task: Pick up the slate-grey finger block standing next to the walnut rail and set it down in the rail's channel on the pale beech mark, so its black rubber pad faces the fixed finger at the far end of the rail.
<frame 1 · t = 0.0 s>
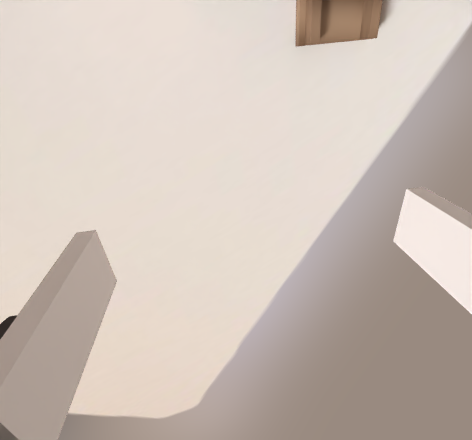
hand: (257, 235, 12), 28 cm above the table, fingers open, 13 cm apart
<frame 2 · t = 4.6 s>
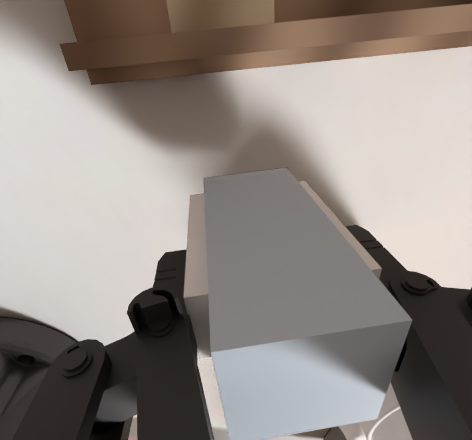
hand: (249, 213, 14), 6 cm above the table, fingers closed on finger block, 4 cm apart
finger block: (248, 209, 14), point 5 cm above the table, touching gripper
mug: (324, 274, 24), on the table
flask: (348, 425, 40), on the table
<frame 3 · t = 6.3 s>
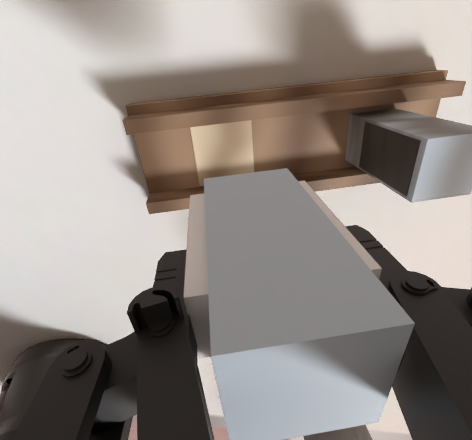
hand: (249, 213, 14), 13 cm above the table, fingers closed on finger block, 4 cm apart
finger block: (248, 210, 14), point 12 cm above the table, touching gripper
flask: (322, 410, 51), on the table
rail: (288, 141, 25), on the table
when the fingers open (2 cm above the table, at t = 8.0 s): finger block stays where it is, resting on rail.
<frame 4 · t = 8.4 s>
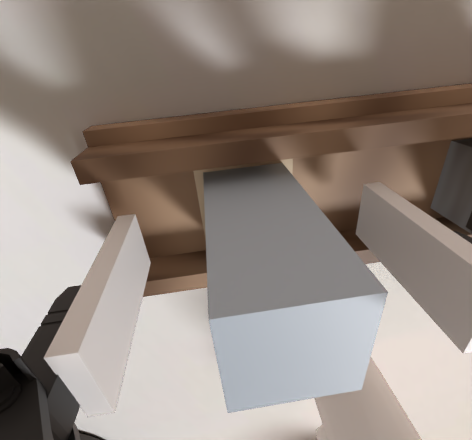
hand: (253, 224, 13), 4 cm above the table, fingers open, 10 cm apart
finger block: (245, 203, 15), point 1 cm above the table, touching rail
mug: (328, 375, 27), on the table
rail: (344, 179, 16), on the table
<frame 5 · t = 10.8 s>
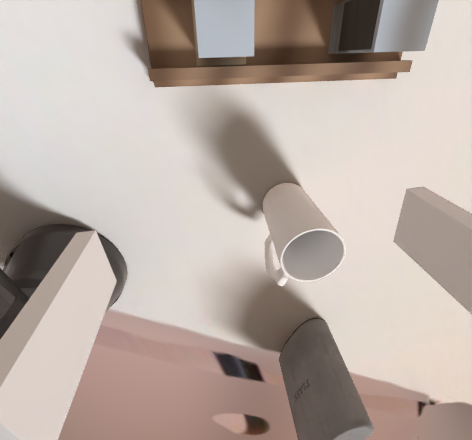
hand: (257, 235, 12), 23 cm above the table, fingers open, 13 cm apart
finger block: (219, 33, 26), point 1 cm above the table, touching rail
mug: (277, 211, 39), on the table
flask: (299, 341, 55), on the table
rail: (278, 32, 28), on the table
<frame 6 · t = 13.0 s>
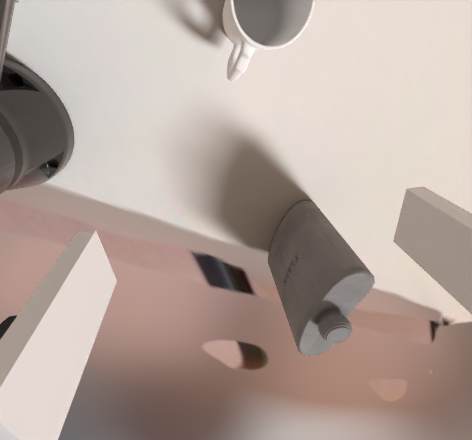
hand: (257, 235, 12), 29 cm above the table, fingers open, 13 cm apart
mug: (242, 33, 32), on the table
flask: (289, 236, 48), on the table
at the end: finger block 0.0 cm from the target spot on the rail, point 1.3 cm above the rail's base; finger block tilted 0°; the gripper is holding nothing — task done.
